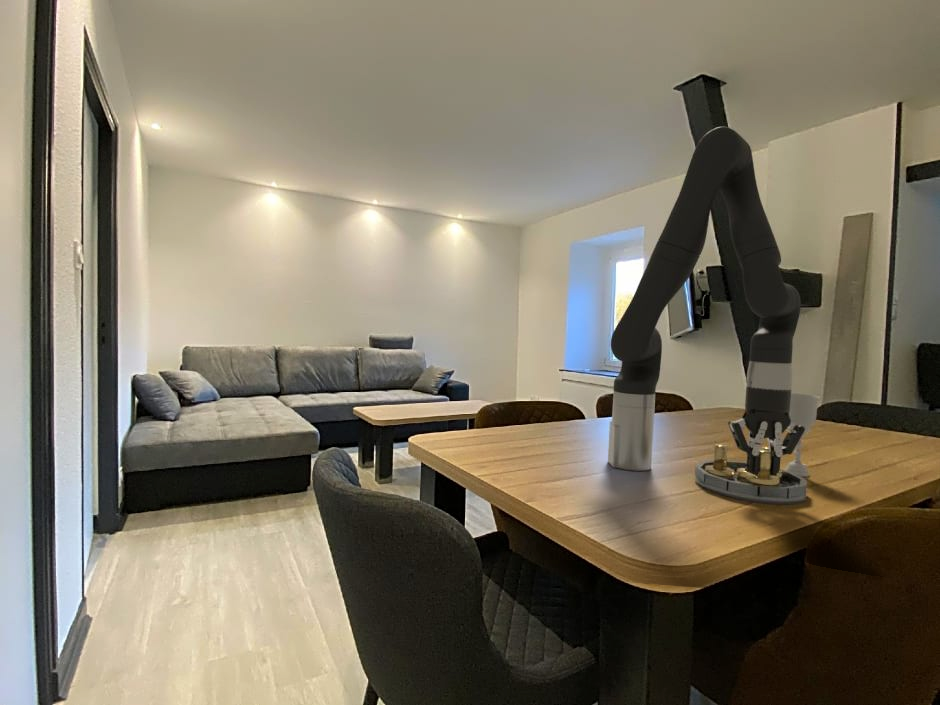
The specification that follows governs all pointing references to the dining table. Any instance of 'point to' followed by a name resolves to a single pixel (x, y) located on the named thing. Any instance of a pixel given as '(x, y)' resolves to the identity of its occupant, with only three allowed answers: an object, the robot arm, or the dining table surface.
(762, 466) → the planet gear
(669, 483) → the dining table surface
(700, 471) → the carrier
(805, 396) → the chalice
